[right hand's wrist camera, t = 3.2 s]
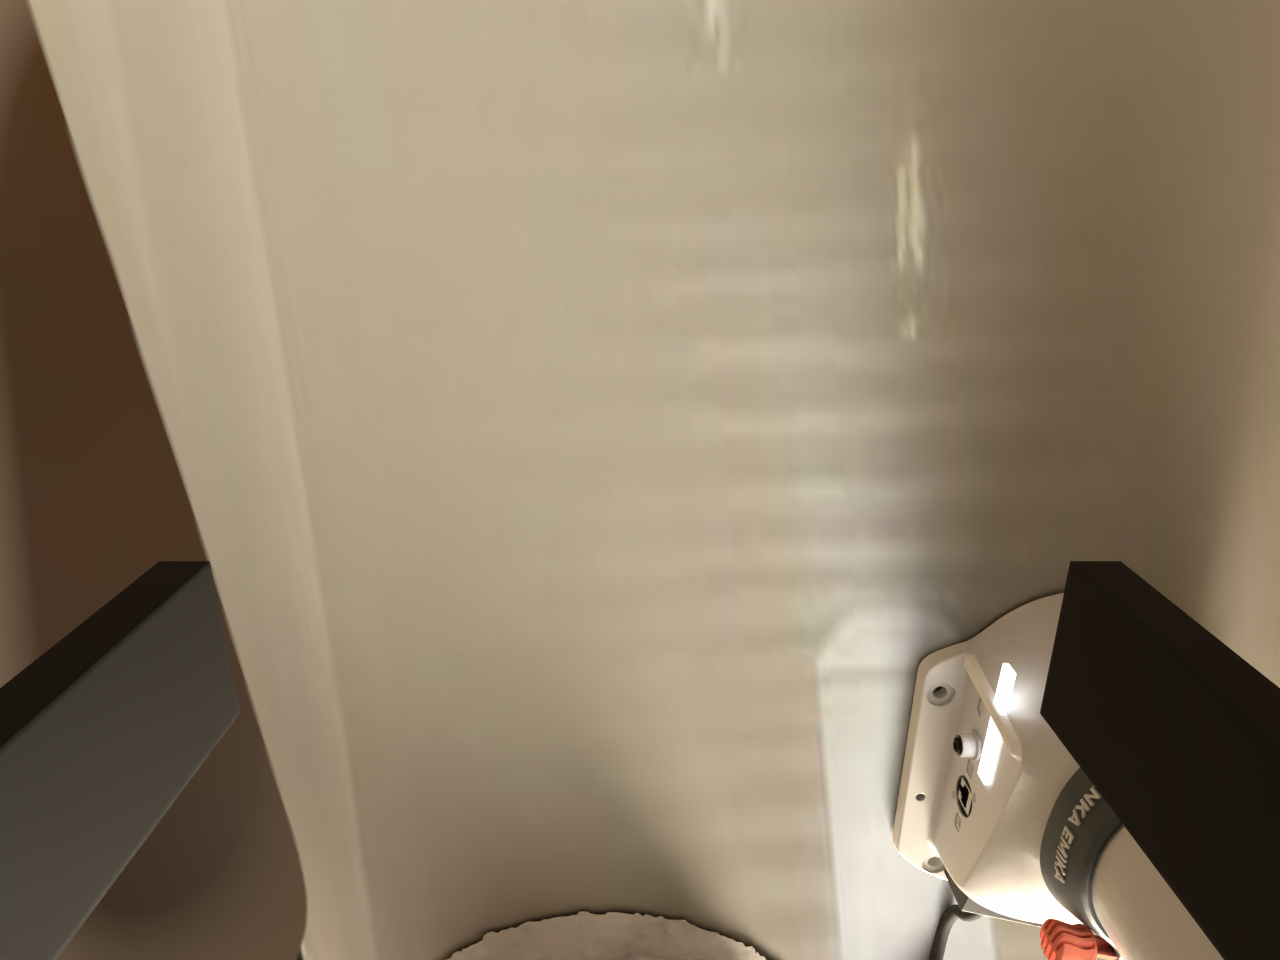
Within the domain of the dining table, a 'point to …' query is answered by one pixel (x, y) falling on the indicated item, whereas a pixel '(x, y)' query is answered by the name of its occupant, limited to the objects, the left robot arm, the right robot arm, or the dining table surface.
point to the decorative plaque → (606, 940)
